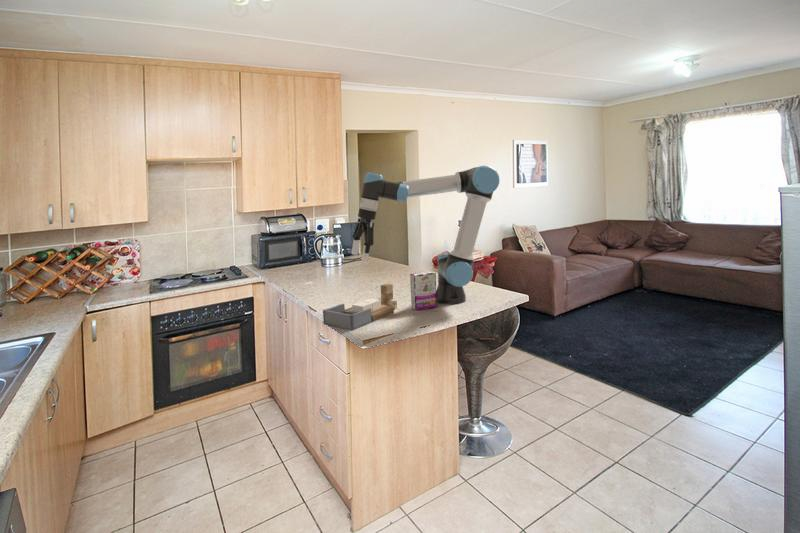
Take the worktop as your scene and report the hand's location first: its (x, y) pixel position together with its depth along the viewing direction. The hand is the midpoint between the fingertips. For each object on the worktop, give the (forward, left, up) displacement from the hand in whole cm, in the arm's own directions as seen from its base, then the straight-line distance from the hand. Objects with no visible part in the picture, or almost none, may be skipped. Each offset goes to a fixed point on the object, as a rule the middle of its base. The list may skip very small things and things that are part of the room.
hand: (359, 257), depth 190 cm
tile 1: (-4, +5, -22) cm, 23 cm away
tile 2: (-4, -2, -22) cm, 23 cm away
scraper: (-4, -13, -25) cm, 29 cm away
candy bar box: (-19, -21, -26) cm, 38 cm away
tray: (-4, +14, -25) cm, 29 cm away
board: (-4, 0, -25) cm, 26 cm away
